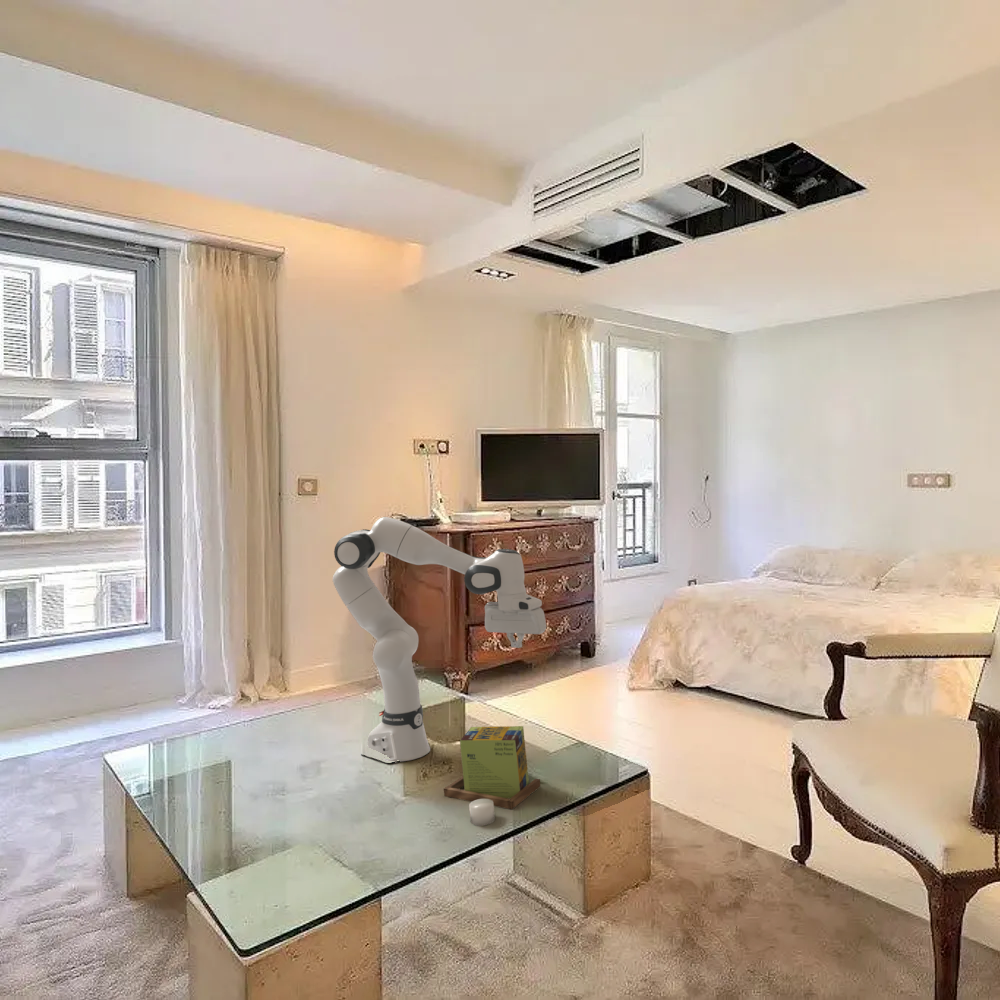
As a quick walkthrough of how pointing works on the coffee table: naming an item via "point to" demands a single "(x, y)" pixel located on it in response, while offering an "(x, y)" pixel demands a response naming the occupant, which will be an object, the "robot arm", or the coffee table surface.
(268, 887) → the coffee table surface
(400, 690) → the robot arm
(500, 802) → the open wooden frame
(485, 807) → the white rounded block
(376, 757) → the coffee table surface
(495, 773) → the protein box
